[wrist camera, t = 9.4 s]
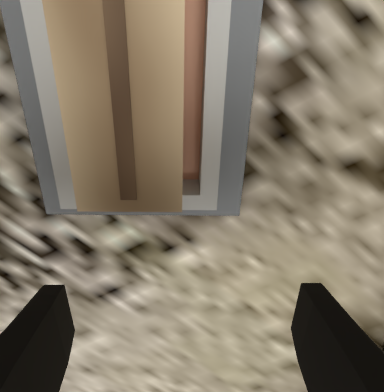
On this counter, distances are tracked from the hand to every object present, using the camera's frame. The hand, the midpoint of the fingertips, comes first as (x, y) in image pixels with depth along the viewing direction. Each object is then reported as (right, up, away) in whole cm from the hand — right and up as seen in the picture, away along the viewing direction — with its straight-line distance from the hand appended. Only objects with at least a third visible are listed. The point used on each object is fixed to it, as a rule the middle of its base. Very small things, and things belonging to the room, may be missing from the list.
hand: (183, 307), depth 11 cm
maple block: (-2, +8, +4) cm, 9 cm away
